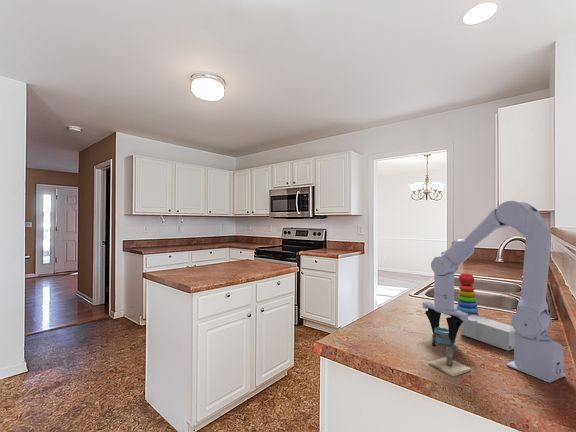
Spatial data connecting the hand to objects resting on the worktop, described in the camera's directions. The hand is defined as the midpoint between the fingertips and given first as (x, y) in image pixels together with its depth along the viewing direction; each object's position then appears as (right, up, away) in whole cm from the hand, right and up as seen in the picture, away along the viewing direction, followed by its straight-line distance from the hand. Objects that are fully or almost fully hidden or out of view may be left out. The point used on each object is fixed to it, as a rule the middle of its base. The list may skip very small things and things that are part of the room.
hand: (443, 336), depth 95 cm
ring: (0, -1, 0) cm, 1 cm away
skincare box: (+11, +1, +7) cm, 13 cm away
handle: (-5, -1, -9) cm, 10 cm away
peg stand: (-8, -1, -17) cm, 19 cm away
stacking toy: (+19, -2, +18) cm, 26 cm away
